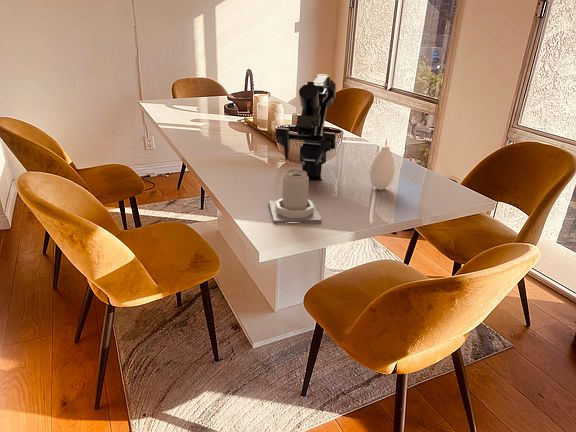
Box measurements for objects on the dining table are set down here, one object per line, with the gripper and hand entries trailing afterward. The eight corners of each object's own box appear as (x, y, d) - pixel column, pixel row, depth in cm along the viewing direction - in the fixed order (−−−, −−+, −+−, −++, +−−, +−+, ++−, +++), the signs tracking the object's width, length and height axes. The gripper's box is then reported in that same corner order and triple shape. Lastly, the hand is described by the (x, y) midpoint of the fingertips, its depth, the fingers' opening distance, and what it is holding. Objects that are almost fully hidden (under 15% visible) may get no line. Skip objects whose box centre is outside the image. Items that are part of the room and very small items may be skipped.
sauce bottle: (381, 183, 161) (388, 134, 153) (395, 191, 155) (403, 140, 147) (363, 186, 157) (370, 136, 150) (377, 194, 151) (385, 143, 143)
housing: (312, 203, 142) (313, 194, 141) (321, 222, 130) (322, 213, 129) (268, 203, 140) (269, 195, 139) (273, 223, 128) (274, 214, 127)
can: (281, 214, 132) (283, 176, 126) (282, 204, 138) (283, 167, 133) (307, 215, 132) (309, 177, 126) (306, 205, 138) (309, 168, 133)
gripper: (277, 101, 135) (267, 146, 130) (338, 106, 132) (330, 153, 127) (281, 121, 146) (272, 163, 140) (338, 126, 142) (331, 170, 137)
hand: (301, 162), depth 136 cm, fingers open, 9 cm apart
